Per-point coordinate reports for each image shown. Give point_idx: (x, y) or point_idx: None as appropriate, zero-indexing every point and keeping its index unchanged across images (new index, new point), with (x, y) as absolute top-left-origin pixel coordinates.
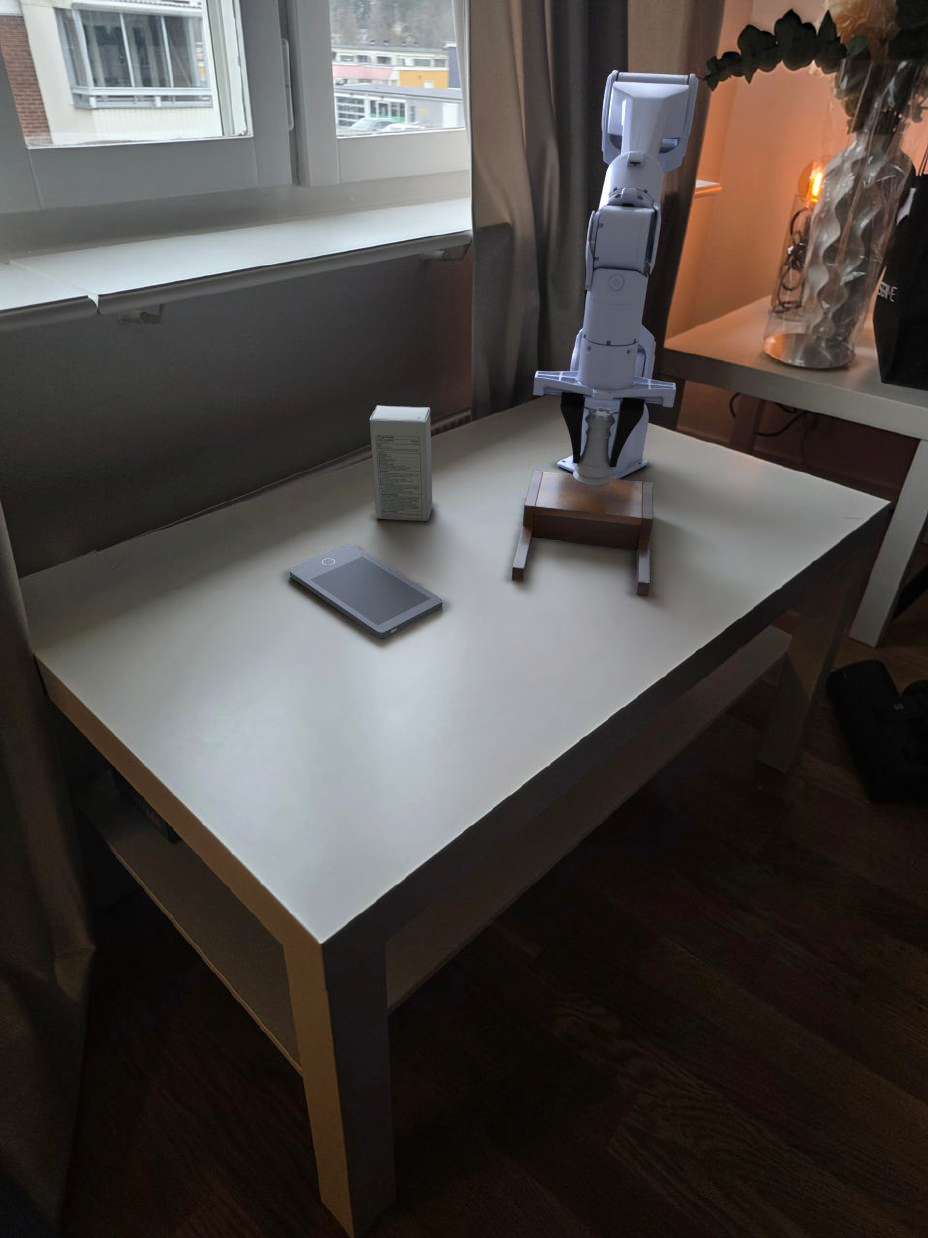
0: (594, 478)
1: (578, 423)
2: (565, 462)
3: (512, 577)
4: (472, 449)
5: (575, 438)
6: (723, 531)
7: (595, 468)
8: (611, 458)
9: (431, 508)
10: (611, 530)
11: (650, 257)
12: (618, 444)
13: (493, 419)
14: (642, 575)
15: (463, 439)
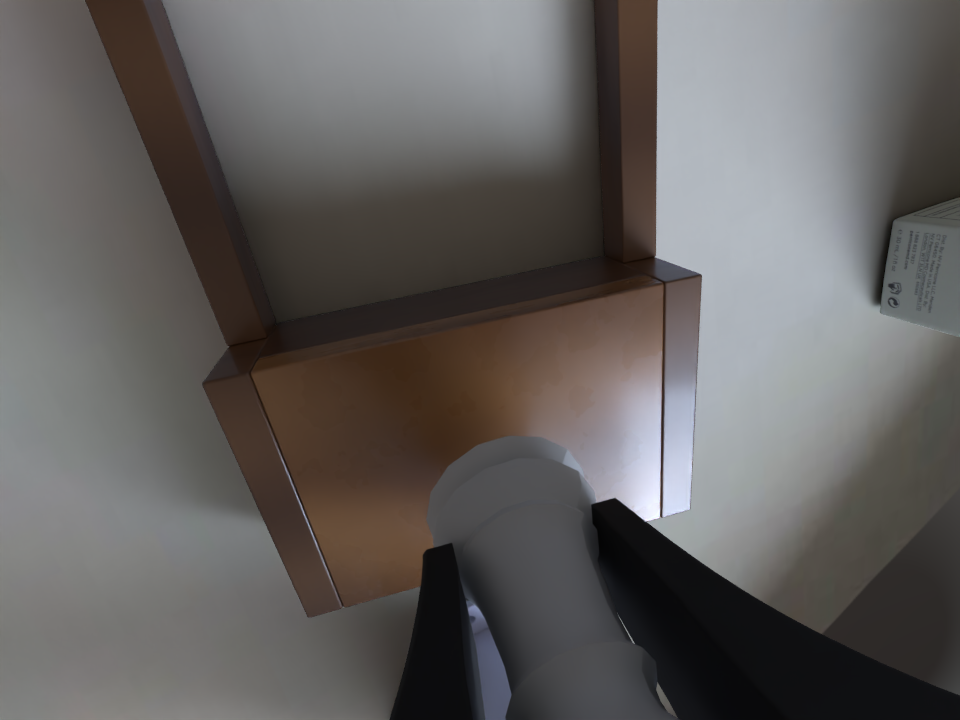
0: (497, 464)
1: (786, 686)
2: None
3: None
4: (786, 591)
5: (703, 588)
6: (59, 545)
7: (512, 501)
8: (454, 574)
9: (884, 286)
10: (367, 322)
11: None
12: (438, 658)
13: None
14: (137, 40)
15: (805, 617)
